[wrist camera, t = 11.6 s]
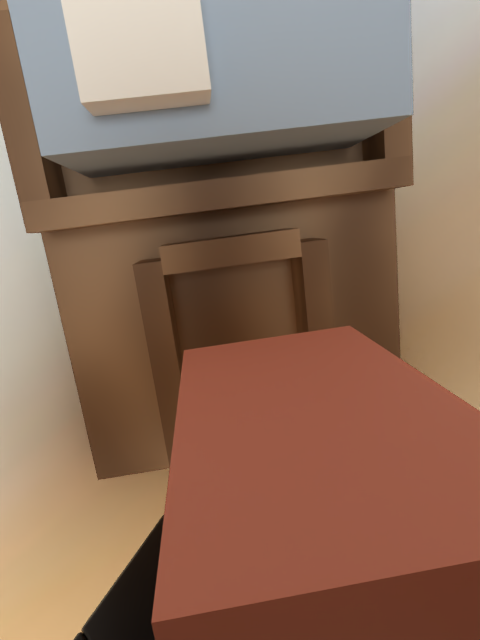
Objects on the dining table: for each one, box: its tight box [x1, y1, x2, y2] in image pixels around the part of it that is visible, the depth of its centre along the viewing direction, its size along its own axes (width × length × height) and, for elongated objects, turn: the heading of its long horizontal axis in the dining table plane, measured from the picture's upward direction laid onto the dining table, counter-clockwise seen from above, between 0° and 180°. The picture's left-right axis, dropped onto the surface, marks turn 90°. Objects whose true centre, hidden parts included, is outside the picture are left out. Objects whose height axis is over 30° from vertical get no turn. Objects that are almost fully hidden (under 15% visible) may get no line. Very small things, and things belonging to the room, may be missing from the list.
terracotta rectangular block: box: [151, 326, 480, 640], centre depth 6 cm, size 4×6×6 cm, turn 7°
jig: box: [0, 0, 413, 480], centre depth 16 cm, size 14×20×3 cm
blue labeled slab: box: [7, 0, 413, 178], centre depth 12 cm, size 10×4×6 cm, turn 97°
